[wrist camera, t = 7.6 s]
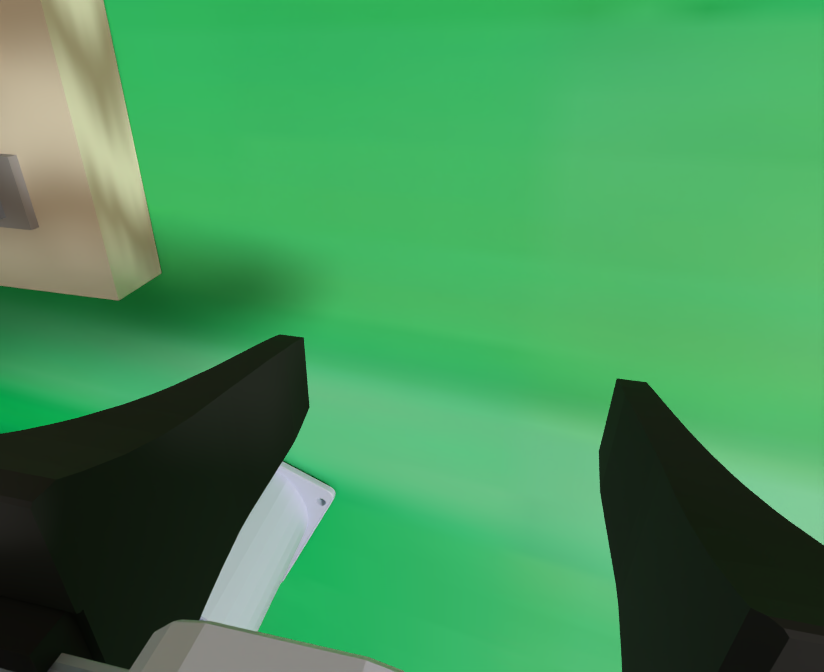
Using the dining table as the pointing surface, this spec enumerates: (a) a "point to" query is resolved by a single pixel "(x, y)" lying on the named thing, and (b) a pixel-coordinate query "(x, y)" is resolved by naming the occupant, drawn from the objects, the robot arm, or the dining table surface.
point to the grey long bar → (2, 212)
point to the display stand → (68, 156)
